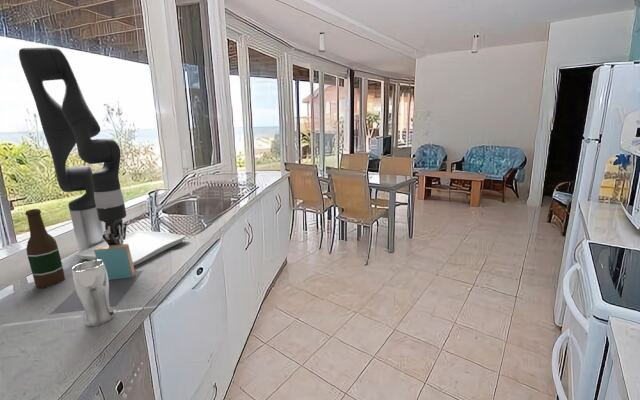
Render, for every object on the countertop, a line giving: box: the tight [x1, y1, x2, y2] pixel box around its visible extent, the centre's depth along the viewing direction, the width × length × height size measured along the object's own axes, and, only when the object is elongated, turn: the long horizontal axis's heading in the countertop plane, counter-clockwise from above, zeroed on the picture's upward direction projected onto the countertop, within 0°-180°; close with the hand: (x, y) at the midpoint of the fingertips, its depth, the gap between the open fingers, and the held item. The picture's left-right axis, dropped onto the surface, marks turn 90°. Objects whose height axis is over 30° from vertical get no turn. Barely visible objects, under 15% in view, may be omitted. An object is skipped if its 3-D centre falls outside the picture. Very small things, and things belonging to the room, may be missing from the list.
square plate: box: [75, 229, 187, 267], centre depth 127 cm, size 27×27×4 cm
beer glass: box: [71, 260, 115, 327], centre depth 82 cm, size 7×7×15 cm
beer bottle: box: [25, 208, 66, 289], centre depth 101 cm, size 8×8×24 cm
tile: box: [94, 244, 136, 280], centre depth 103 cm, size 2×9×11 cm, turn 101°
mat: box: [49, 269, 144, 315], centre depth 98 cm, size 22×16×1 cm
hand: (120, 255), depth 106 cm, fingers closed
